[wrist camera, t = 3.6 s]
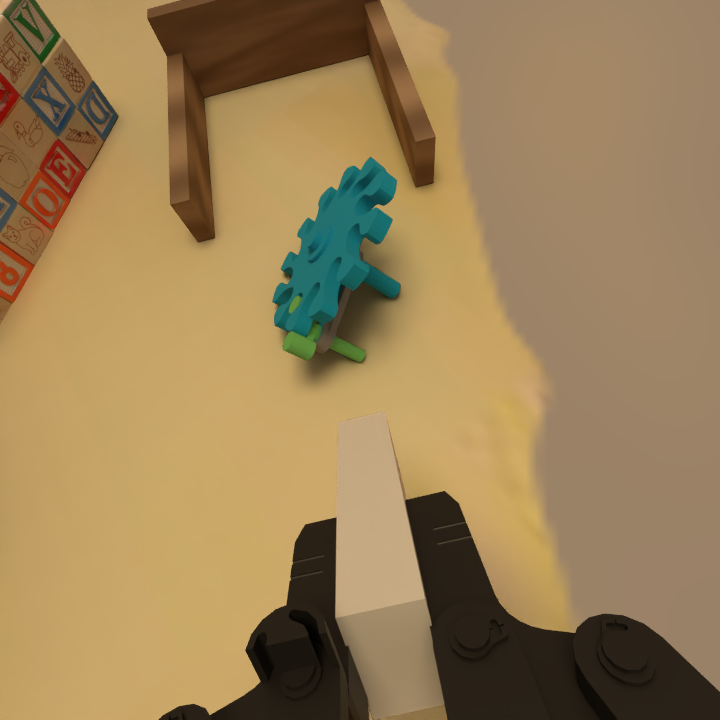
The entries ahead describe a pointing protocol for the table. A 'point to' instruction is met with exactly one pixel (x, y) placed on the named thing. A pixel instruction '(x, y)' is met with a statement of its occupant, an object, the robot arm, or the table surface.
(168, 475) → the table surface
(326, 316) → the gear
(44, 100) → the stack of blocks
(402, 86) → the wooden u-shaped enclosure
